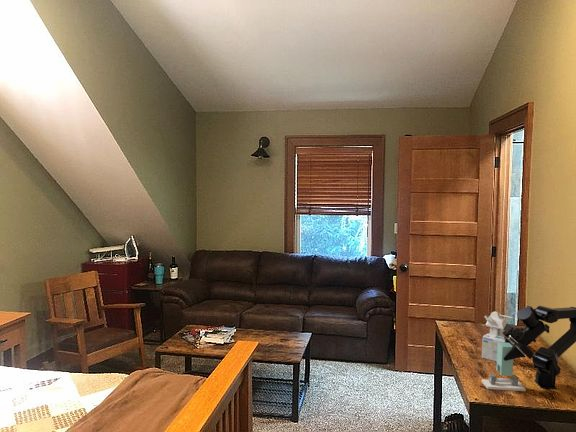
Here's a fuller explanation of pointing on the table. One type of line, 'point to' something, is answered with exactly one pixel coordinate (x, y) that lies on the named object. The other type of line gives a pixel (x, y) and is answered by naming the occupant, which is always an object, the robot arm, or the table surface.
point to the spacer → (503, 365)
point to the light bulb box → (491, 346)
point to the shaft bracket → (503, 383)
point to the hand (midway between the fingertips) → (501, 357)
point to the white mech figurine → (496, 323)
